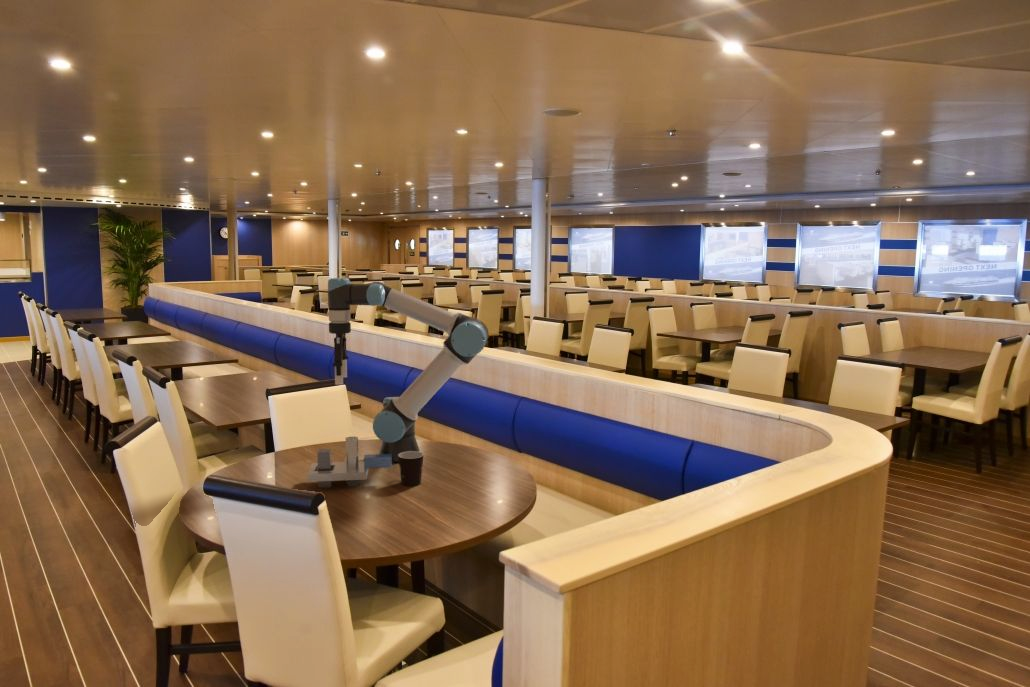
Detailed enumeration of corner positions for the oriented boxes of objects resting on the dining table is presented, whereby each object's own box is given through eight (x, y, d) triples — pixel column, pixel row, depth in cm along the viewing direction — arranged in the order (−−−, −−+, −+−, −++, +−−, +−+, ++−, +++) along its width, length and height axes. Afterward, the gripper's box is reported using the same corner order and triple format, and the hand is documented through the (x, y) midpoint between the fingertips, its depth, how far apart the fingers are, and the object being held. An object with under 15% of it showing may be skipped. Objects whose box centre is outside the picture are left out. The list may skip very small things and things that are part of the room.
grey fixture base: (392, 477, 244) (391, 432, 241) (391, 488, 232) (390, 441, 230) (312, 480, 240) (311, 434, 238) (307, 492, 228) (305, 444, 226)
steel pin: (320, 483, 236) (319, 449, 235) (332, 483, 237) (331, 448, 235) (318, 487, 232) (317, 452, 231) (330, 487, 233) (329, 452, 231)
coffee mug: (419, 488, 232) (418, 459, 231) (394, 486, 234) (394, 457, 233) (430, 477, 244) (429, 449, 242) (406, 475, 245) (406, 447, 244)
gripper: (332, 318, 259) (334, 374, 262) (324, 325, 235) (326, 387, 238) (353, 318, 260) (354, 374, 263) (347, 325, 236) (348, 387, 239)
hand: (341, 380), depth 251 cm, fingers open, 13 cm apart
